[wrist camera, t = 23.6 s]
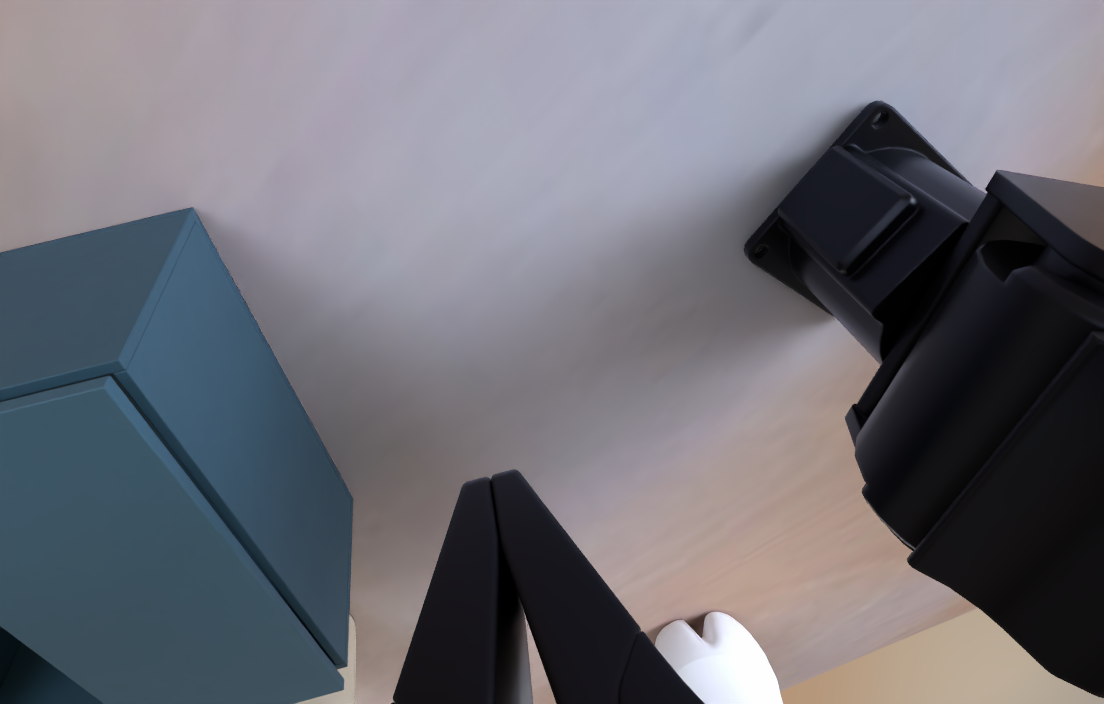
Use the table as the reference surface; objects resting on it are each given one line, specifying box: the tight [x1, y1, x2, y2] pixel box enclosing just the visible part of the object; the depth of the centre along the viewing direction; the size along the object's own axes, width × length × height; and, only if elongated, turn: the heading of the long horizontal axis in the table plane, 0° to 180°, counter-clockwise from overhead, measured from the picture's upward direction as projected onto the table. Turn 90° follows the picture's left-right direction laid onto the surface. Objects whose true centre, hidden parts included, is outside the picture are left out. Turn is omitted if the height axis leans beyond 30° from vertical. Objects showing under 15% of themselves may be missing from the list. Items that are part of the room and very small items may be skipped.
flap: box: [0, 376, 344, 704], centre depth 18 cm, size 6×14×1 cm, turn 10°
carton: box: [0, 207, 353, 704], centre depth 21 cm, size 13×14×7 cm
